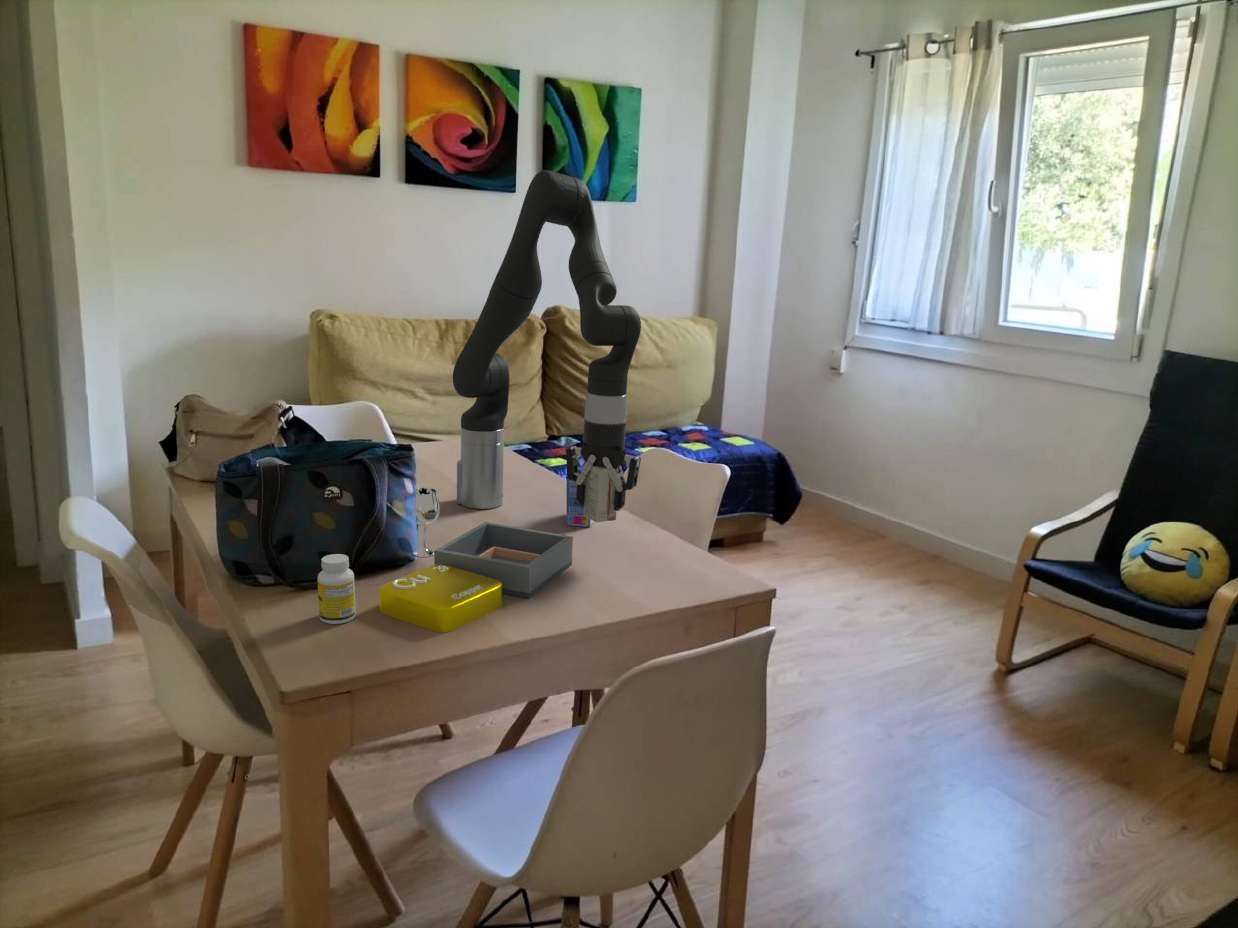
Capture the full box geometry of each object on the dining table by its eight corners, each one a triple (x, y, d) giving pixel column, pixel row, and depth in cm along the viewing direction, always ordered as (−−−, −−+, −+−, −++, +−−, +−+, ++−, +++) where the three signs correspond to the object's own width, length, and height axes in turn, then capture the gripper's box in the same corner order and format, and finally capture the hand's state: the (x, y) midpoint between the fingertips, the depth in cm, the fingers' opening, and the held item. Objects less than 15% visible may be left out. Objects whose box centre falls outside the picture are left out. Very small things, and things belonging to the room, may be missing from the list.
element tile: (444, 637, 139) (444, 607, 138) (373, 612, 147) (372, 584, 146) (507, 606, 151) (507, 579, 150) (439, 585, 159) (439, 558, 158)
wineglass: (445, 551, 174) (445, 490, 171) (427, 560, 169) (427, 497, 166) (420, 545, 176) (420, 485, 173) (401, 554, 171) (401, 492, 168)
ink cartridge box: (573, 511, 202) (575, 447, 198) (598, 514, 201) (600, 449, 198) (564, 525, 192) (566, 458, 189) (590, 527, 192) (593, 460, 188)
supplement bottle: (323, 610, 145) (321, 551, 143) (358, 610, 146) (357, 552, 144) (315, 625, 140) (313, 564, 138) (351, 625, 141) (350, 564, 138)
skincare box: (616, 520, 169) (620, 467, 167) (595, 523, 167) (599, 469, 165) (602, 512, 174) (605, 460, 171) (582, 515, 171) (585, 462, 169)
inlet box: (434, 580, 160) (434, 550, 158) (484, 549, 176) (485, 521, 175) (528, 598, 154) (529, 567, 152) (571, 564, 170) (572, 536, 169)
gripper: (560, 416, 164) (556, 505, 169) (635, 427, 160) (629, 518, 164) (576, 409, 171) (572, 495, 176) (650, 419, 167) (643, 507, 171)
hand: (600, 506), depth 170 cm, fingers closed on skincare box, 6 cm apart
